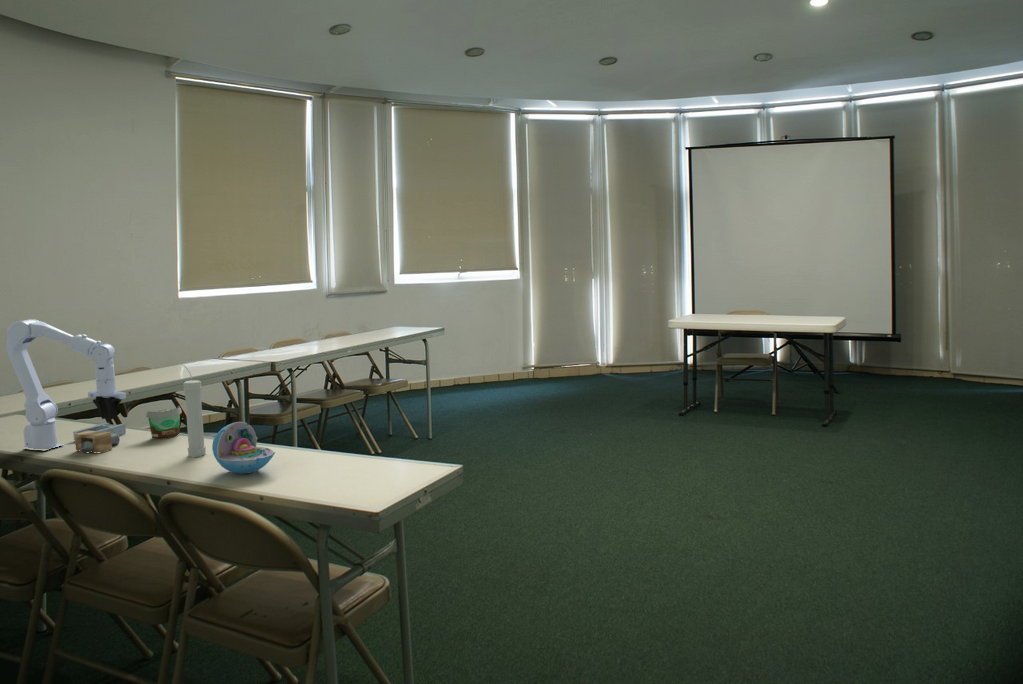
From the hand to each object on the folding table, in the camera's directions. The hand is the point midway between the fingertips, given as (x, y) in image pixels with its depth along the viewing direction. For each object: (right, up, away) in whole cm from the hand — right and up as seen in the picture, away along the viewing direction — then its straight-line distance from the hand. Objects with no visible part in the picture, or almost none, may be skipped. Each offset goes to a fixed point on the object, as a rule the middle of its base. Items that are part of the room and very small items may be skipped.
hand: (108, 418), depth 252 cm
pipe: (+36, -11, -13) cm, 39 cm away
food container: (+15, -8, +12) cm, 21 cm away
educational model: (+59, -13, -33) cm, 68 cm away
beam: (-2, -10, -5) cm, 12 cm away
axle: (-1, -10, -3) cm, 10 cm away
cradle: (-10, -8, +13) cm, 18 cm away
